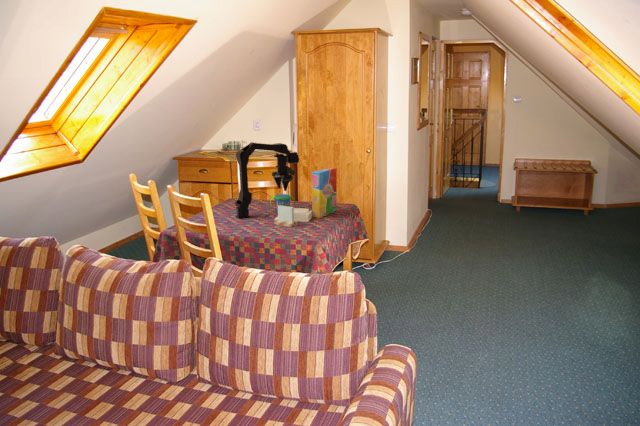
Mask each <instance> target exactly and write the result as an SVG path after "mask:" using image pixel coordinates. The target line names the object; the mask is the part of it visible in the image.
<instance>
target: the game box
mask: <svg viewBox="0 0 640 426" xmlns="http://www.w3.org/2000/svg"><path fill="white" fill-rule="evenodd" d="M337 174H338V173H337V168H336V167H327V168H323V169H319V170H314V171H312V172H311V188H312V189H311V197H312V198H311V204H312V205H311V210H312V218H315V217H316V219H317V218H318V219H320V218H323V216H324V217H326V216H328V214H329V215H330V213H331V214H333V212H334V213H336V212H337V206H338V205H337V203H338V202H337V201H338V200H337V199H338V198H337V196H338V195H337V186H338V185H337V176H338V175H337ZM335 211H336V212H335Z"/></svg>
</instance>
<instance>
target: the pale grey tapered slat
mask: <svg viewBox="0 0 640 426" xmlns="http://www.w3.org/2000/svg"><path fill="white" fill-rule="evenodd" d="M294 208H295V207H293V206H290V207H288V206H282V205H279V206H278V212H277V216H278V221H284V222H290V223H293V225H294Z"/></svg>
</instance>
